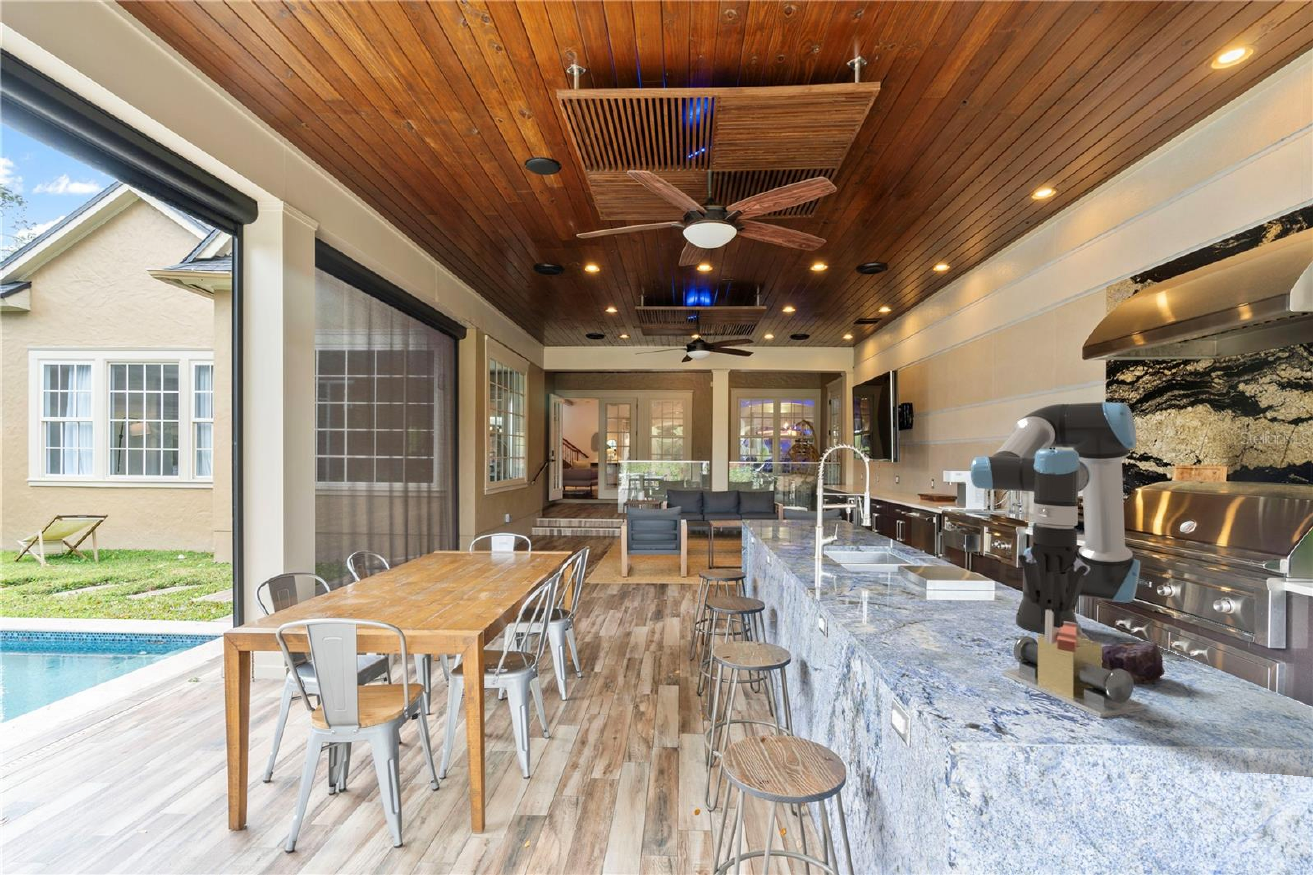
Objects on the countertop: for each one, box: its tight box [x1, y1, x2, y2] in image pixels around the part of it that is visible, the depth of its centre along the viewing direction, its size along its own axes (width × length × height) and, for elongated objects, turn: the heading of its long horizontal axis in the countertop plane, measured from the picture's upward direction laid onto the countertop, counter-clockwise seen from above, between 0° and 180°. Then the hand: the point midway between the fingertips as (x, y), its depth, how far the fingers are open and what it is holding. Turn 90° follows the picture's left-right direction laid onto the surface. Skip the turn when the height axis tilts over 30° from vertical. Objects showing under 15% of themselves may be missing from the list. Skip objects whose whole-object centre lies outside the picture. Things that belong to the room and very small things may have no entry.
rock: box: [1102, 641, 1165, 685], centre depth 134 cm, size 12×9×10 cm
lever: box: [1057, 621, 1082, 652], centre depth 123 cm, size 16×4×2 cm, turn 144°
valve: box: [1002, 634, 1146, 719], centre depth 128 cm, size 12×22×12 cm, turn 17°
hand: (1051, 641), depth 121 cm, fingers closed
